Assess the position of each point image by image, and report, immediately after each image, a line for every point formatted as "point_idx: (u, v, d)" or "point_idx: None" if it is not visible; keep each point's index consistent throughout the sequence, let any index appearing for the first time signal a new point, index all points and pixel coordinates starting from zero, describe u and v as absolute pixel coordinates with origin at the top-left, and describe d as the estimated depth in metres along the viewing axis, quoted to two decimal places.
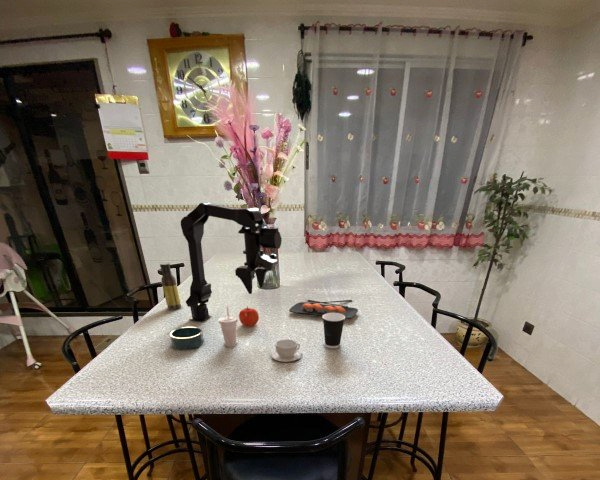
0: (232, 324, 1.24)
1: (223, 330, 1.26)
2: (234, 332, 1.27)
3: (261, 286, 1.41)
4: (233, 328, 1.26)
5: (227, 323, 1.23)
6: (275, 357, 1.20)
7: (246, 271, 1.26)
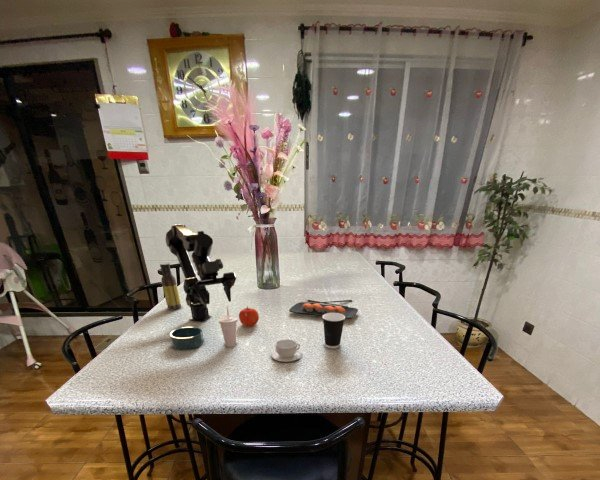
0: (232, 324, 1.24)
1: (223, 330, 1.26)
2: (234, 332, 1.27)
3: (229, 299, 1.31)
4: (233, 328, 1.26)
5: (227, 323, 1.23)
6: (275, 357, 1.20)
7: (184, 281, 1.25)
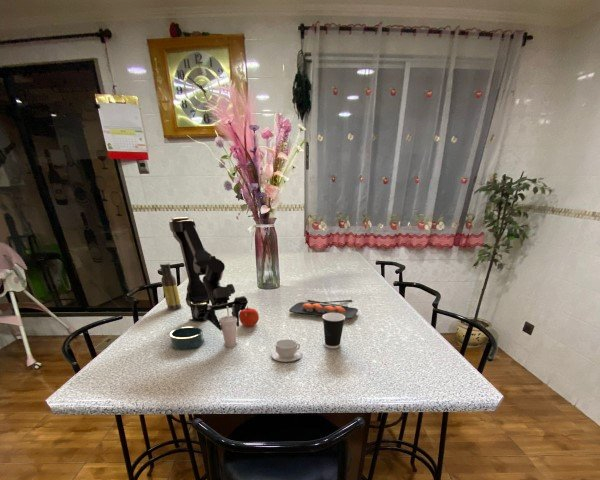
0: (232, 324, 1.24)
1: (223, 330, 1.26)
2: (234, 332, 1.27)
3: (237, 325, 1.28)
4: (233, 328, 1.26)
5: (227, 323, 1.23)
6: (275, 357, 1.20)
7: (195, 307, 1.22)
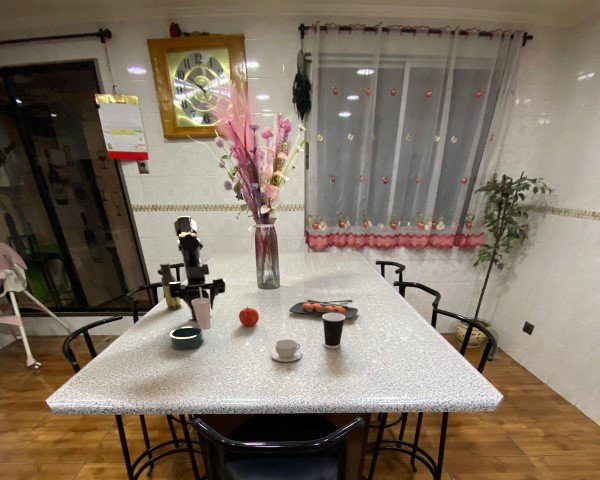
0: (203, 306, 1.20)
1: (195, 311, 1.22)
2: (206, 315, 1.23)
3: (211, 307, 1.23)
4: (204, 310, 1.21)
5: (197, 304, 1.19)
6: (275, 357, 1.20)
7: (168, 285, 1.20)
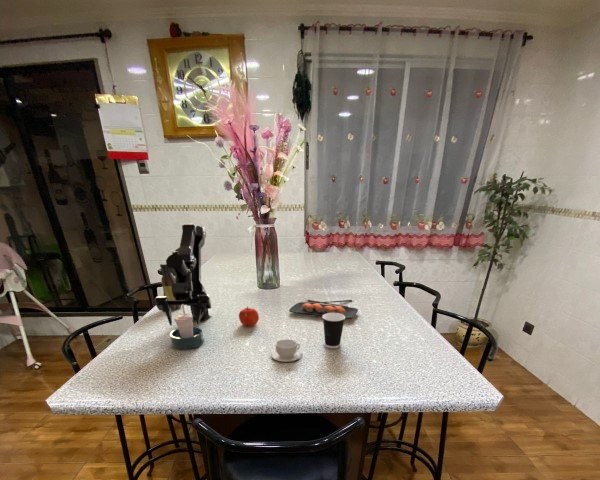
0: (184, 322, 1.25)
1: None
2: (187, 330, 1.27)
3: (196, 322, 1.27)
4: (185, 326, 1.26)
5: (178, 320, 1.24)
6: (275, 357, 1.20)
7: None
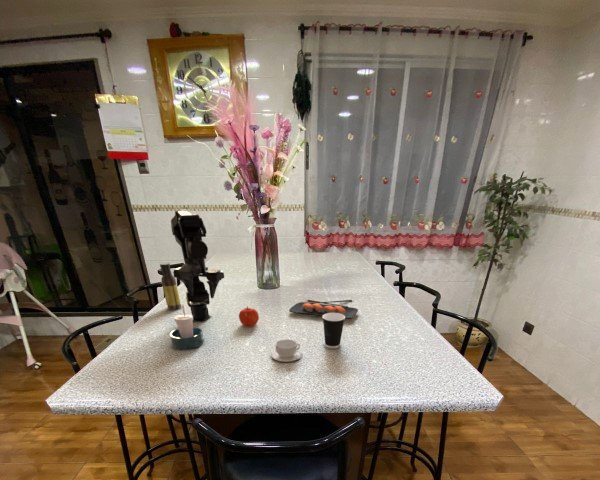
0: (184, 322, 1.25)
1: None
2: (187, 330, 1.27)
3: None
4: (185, 326, 1.26)
5: (178, 320, 1.24)
6: (275, 357, 1.20)
7: None
